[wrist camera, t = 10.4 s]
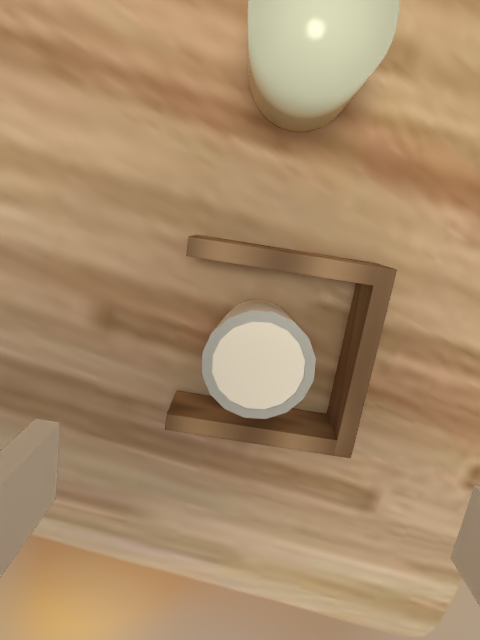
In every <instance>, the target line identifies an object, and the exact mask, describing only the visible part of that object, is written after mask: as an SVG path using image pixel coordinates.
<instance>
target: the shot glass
mask: <svg viewBox="0 0 480 640" xmlns="http://www.w3.org/2000/svg"><path fill="white" fill-rule="evenodd" d="M315 364H316V358H315V355H314V352H313V349H312V346H311V343H310V340H309V338H308V337H307V335H306V334H305V333H304V332H303V331H302V330H301V329H300V328H299V327H298V325H297V324H296V323H295V322H294V321H293V320H292V319H291V318H290V317H289V316H288V315H287V314H286V313H285V312H284V311H283V310H282V308H281V307H280V306H277V305H275V304H273V303H271V302H269V301H267V300H249V301H246V302H243V303H240V304H237V305H236V306H235V307H234V308H233V309H232V310H231V311H230V312H228V313H227V314H226V316H225V317H224V318H223V319H222V321H221V322H220V323H219V324H218V326H217V327H216V328H215V329H214V331H213V332H212V333H211V335H210V337H209V340H208V342H207V344H206V346H205V348H204V350H203V352H202V376H203V379H204V381H205V384H206V386H207V389H208V391H209V394H210V395H211V396H212V397H213V398H214V399H215V400H216V401H217V402H218V403H219V404H220V405H221V406H222V407H223V408H224V409H226V410H228V411H230V412H233V413H235V414H237V415H239V416H242V417H244V418H259V419H267V418H271V417H274V416H277V415H280V414H283V413H286V412H288V411H289V410H290V409H292V408H293V407H294V406H295V405H297V404H298V403H299V402H300V401H302V400H303V399H304V397H305V395H306V394H307V392H308V390H309V388H310V386H311V385H312V383H313V381H314V374H315Z"/></svg>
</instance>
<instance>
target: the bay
mask: <svg viewBox="0 0 480 640" xmlns="http://www.w3.org/2000/svg"><path fill="white" fill-rule="evenodd" d="M186 256H190V257H197V258H203V259H209V260H215V261H222V262H228V263H234V264H241V265H247V266H253V267H260V268H266V269H272V270H278V271H285V272H291V273H297V274H304V275H310V276H316V277H323V278H329V279H335V280H341V281H348V282H354V283H356V287H355V291H354V296H353V300H352V305H351V309H350V314H349V318H348V323H347V327H346V332H345V336H344V341H343V345H342V350H341V354H340V359H339V363H338V367H337V372H336V376H335V381H334V385H333V390H332V394H331V399H330V403H329V408H328V412H327V414H321V413H315V412H309V411H302V410H296V409H290V410H289V411H288V412H286V413H283V414H280V415H277V416H274V417H271V418H267V419H259V418H244V417H242V416H239V415H237V414H235V413H233V412H230V411H228V410H226V409H224V408H223V407H222V406H221V405H220V404H219V403H218V402H217V401H216V400H215V399H214V398H213V397H212V396H206V395H199V394H193V393H186V392H180V391H177V392H176V394H175V397H174V399H173V401H172V403H171V406H170V408H169V410H168V412H167V416H166V424H165V430H170V431H176V432H183V433H189V434H196V435H202V436H209V437H215V438H222V439H228V440H235V441H241V442H248V443H254V444H261V445H267V446H274V447H280V448H287V449H293V450H300V451H306V452H313V453H319V454H326V455H332V456H339V457H345V458H351V455H352V451H353V447H354V443H355V439H356V435H357V430H358V426H359V422H360V418H361V414H362V410H363V406H364V402H365V398H366V394H367V390H368V386H369V381H370V377H371V373H372V369H373V365H374V361H375V357H376V353H377V349H378V345H379V341H380V337H381V333H382V328H383V324H384V320H385V316H386V312H387V308H388V304H389V300H390V296H391V292H392V288H393V284H394V280H395V275H396V271H397V270H396V269H393V268H390V267H386V266H383V265H380V264H377V263H370V262H364V261H358V260H352V259H345V258H339V257H333V256H326V255H320V254H314V253H308V252H301V251H295V250H289V249H282V248H276V247H270V246H264V245H257V244H251V243H245V242H239V241H232V240H226V239H220V238H213V237H207V236H201V235H194V236H189V238H188V246H187V254H186Z"/></svg>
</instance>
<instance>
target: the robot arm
mask: <svg viewBox="0 0 480 640" xmlns="http://www.w3.org/2000/svg"><path fill="white" fill-rule="evenodd" d="M59 432H60V422H54V421H48V420H41V419H35V420H34V421H32V422H31V423H30V424H29V425H28V426H27V427H26V428H25V429H24V430H23V431H22V432H20V433H19V434H18V435H17V436H16V437H15V438H14V439H13V440H12V441H11V442H10V443H8V444H7V445H6V446H5V447H4V448H3V449H2V450H1V451H0V577H1V576H2V574H3V573H4V572H5V570H6V569H7V567H8V566H9V564H10V563H11V561H12V560H13V559H14V557H15V556H16V555H17V553H18V552H19V550H20V549H21V547H22V546H23V544H24V543H25V542H26V540H27V539H28V537H29V536H30V535H31V533H32V532H33V530H34V529H35V528H36V526H37V525H38V523H39V522H40V520H41V519H42V518H43V516H44V515H45V513H46V512H47V510H48V509H49V508H50V506H51V505H52V503H53V502H54V500H55V499H56V486H57V468H58V450H59ZM451 559H452V561H453V563H454V564H455V566H456V568H457V569H458V571H459V573H460V574H461V576H462V578H463V579H464V581H465V583H466V584H467V586H468V588H469V589H470V591H471V593H472V594H473V596H474V598H475V599H476V601H477V603H478V604H479V606H480V486H474V489H473V492H472V495H471V498H470V501H469V504H468V507H467V510H466V513H465V516H464V519H463V522H462V525H461V528H460V531H459V534H458V537H457V540H456V543H455V546H454V549H453V552H452V555H451Z"/></svg>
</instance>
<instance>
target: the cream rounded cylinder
mask: <svg viewBox="0 0 480 640" xmlns="http://www.w3.org/2000/svg"><path fill="white" fill-rule="evenodd" d="M398 15H399V0H249V3H248V62H249V85H250V90H251V94H252V97H253V99H254V102H255V104H256V105H257V107H258V109H259V110H260V111H261V113H262V114H263V115H264V116H265V117H266V118H267V119H268V120H269V121H270V122H272V123H273V124H275V125H276V126H278V127H280V128H283V129H285V130H289V131H295V132H306V131H311V130H315V129H318V128H320V127H322V126H324V125H326V124H328V123H329V122H330V121H332V120H333V119H334V118H335V117H336V116H337V115H338V114H339V113H340V112H341V111H342V110H343V109H344V107H345V106H346V105H347V104H348V102H349V101H350V100H351V99H352V97H353V96H354V95H355V94H356V92H357V91H358V90H359V89H360V88H361V86H362V85H363V84H364V83H365V81H366V80H367V79H368V78H369V76H370V75H371V74H372V73H373V71H374V70H375V69H376V68H377V67H378V65H379V64H380V62H381V61H382V59H383V58H384V57H385V55H386V53H387V51H388V49H389V47H390V45H391V42H392V40H393V37H394V34H395V31H396V27H397V21H398Z"/></svg>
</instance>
